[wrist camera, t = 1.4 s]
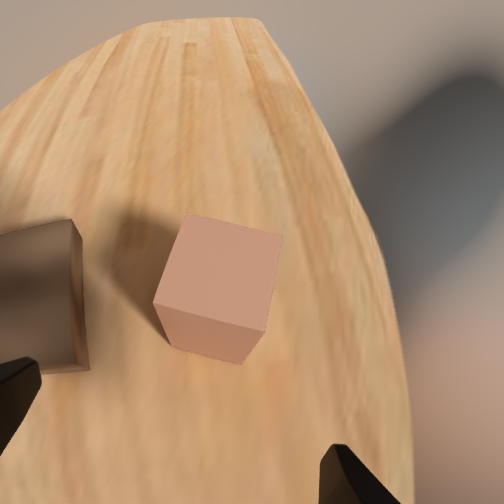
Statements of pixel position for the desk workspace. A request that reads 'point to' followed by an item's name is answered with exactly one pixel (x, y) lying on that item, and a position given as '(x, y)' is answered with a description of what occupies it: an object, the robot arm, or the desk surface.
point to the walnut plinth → (43, 297)
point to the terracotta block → (217, 288)
